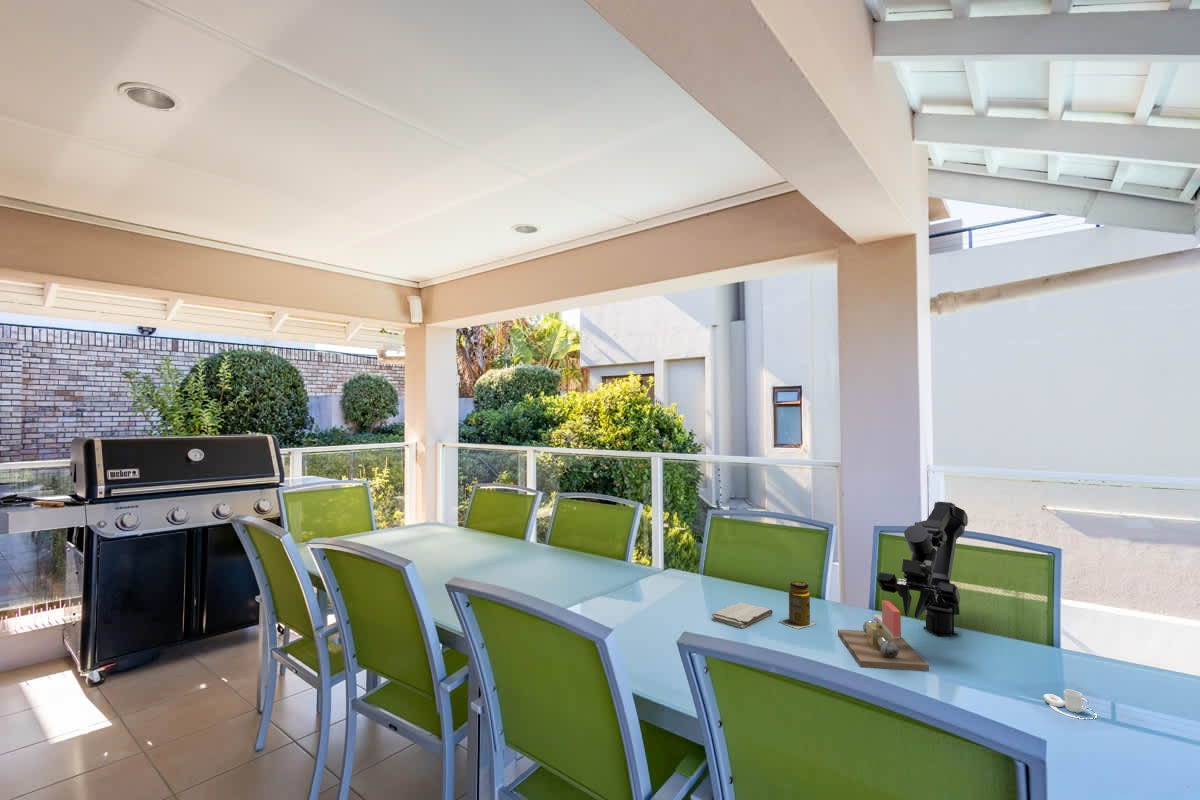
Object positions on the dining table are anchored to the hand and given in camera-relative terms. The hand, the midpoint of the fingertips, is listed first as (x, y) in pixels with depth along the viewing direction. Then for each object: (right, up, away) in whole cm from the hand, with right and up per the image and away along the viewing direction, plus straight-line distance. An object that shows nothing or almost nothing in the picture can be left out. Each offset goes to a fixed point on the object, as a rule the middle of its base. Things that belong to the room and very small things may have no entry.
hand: (910, 616), depth 149 cm
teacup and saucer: (+23, -11, -23) cm, 34 cm away
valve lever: (-6, -3, 0) cm, 7 cm away
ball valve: (-5, -10, +6) cm, 13 cm away
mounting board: (-5, -12, +6) cm, 14 cm away
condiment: (-20, -13, +28) cm, 36 cm away
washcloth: (-35, -13, +33) cm, 50 cm away
